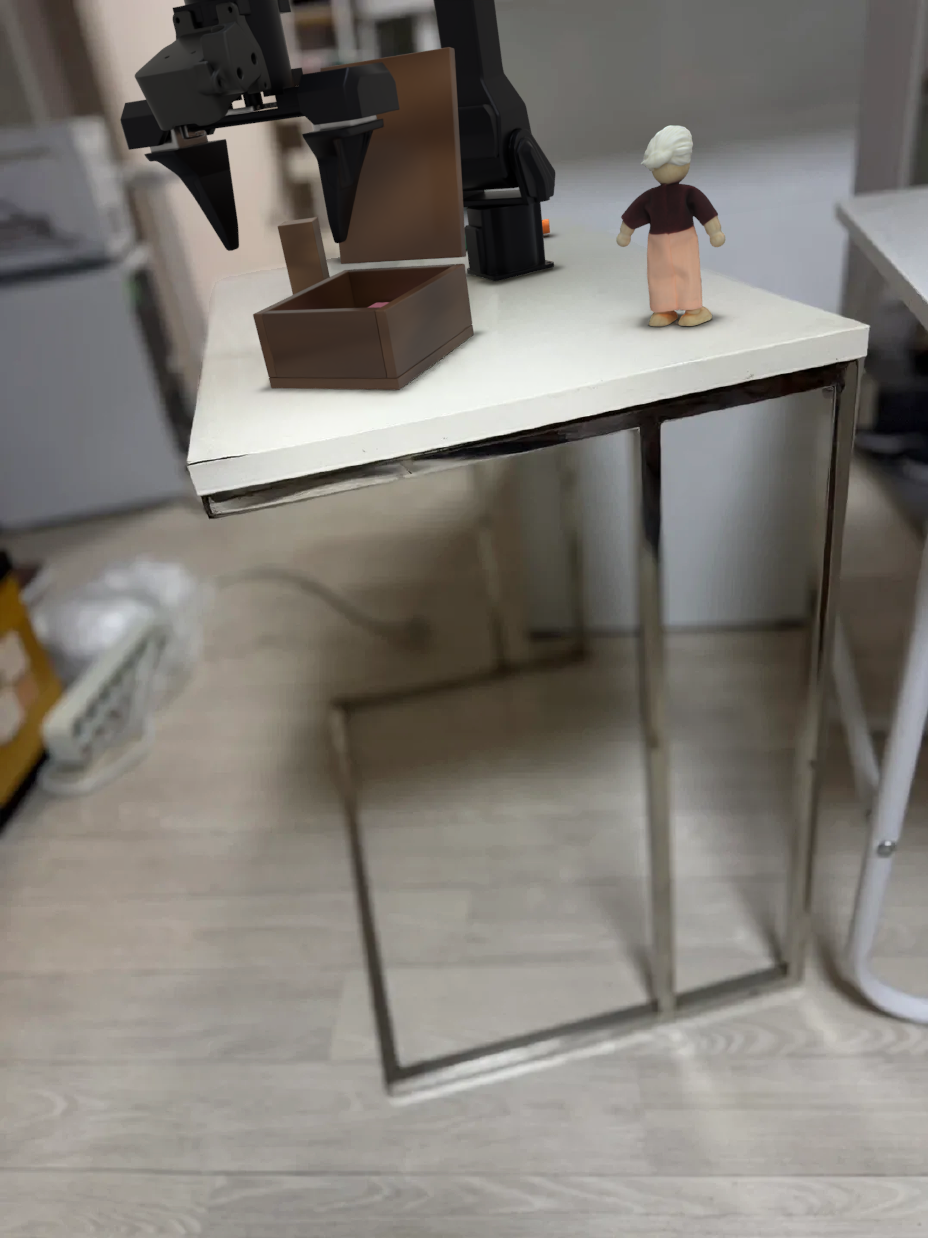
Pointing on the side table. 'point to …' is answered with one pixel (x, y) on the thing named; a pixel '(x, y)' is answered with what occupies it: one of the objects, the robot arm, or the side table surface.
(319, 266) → the stand
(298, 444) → the side table surface
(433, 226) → the lid
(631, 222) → the grandmother figurine
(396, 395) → the side table surface
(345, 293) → the chest
